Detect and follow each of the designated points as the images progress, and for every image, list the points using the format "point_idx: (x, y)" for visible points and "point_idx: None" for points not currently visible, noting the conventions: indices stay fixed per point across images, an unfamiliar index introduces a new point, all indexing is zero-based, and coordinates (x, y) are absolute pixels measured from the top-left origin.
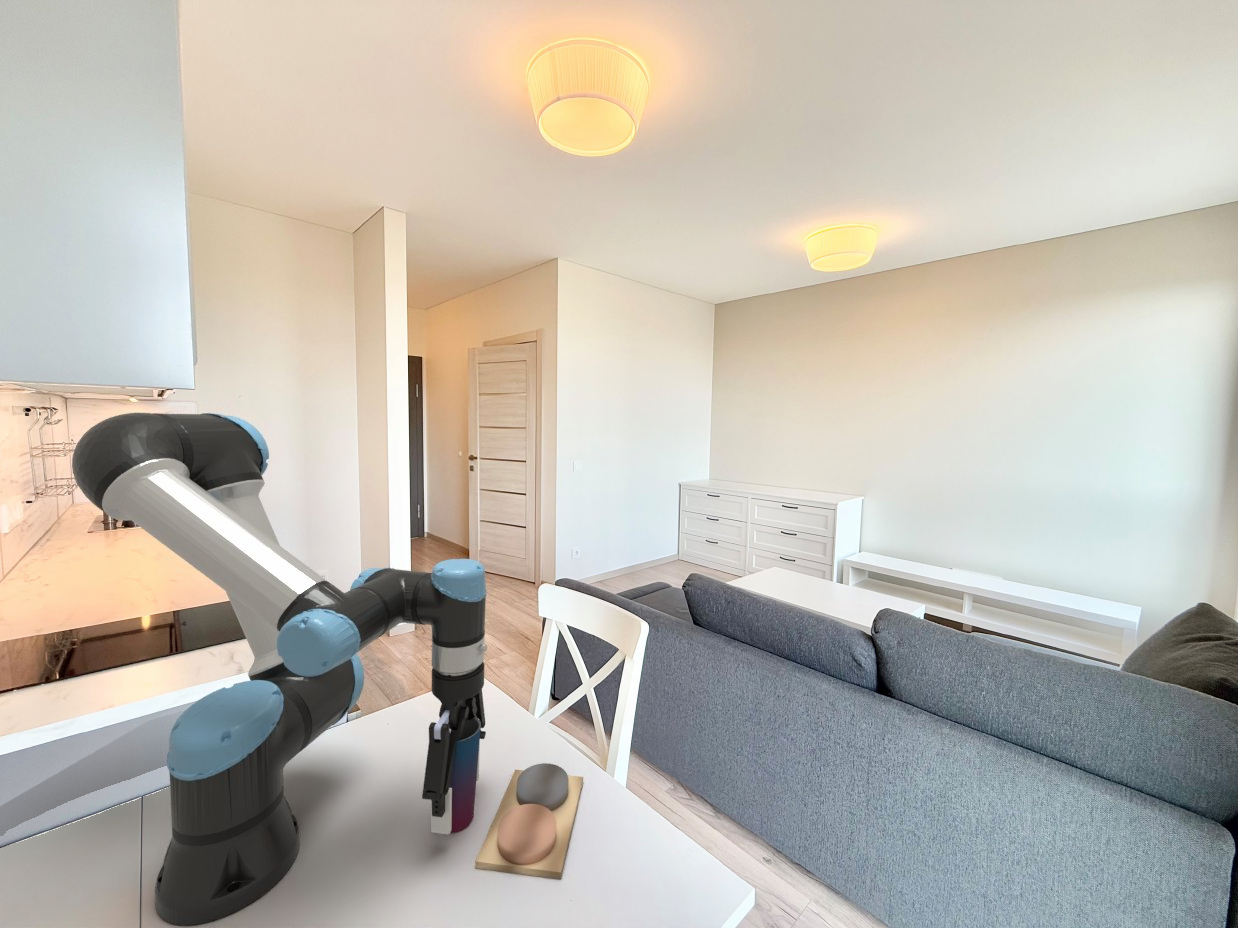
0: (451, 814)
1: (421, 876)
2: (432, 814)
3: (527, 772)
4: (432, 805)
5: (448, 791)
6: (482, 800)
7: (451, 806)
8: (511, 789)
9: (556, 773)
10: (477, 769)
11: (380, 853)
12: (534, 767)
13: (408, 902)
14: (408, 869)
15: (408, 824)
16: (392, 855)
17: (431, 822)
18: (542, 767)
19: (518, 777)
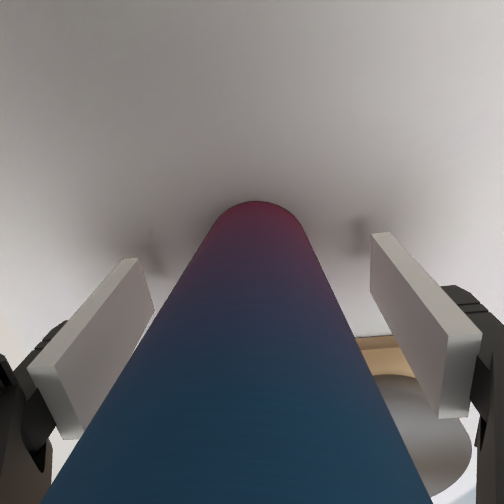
0: (135, 345)
1: (71, 256)
2: (53, 330)
3: (424, 418)
4: (29, 357)
5: (62, 434)
6: (342, 285)
7: (123, 367)
8: (380, 359)
9: (427, 478)
10: (384, 318)
11: (68, 95)
12: (450, 427)
13: (7, 265)
14: (69, 214)
15: (193, 111)
16: (80, 140)
17: (108, 277)
18: (450, 446)
19: (398, 403)
